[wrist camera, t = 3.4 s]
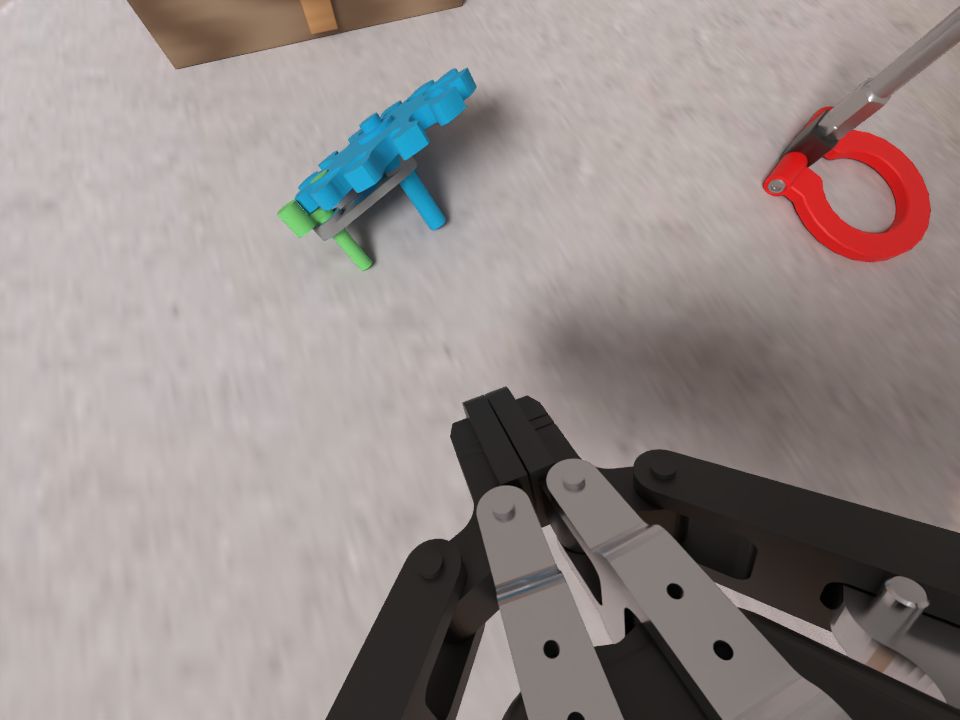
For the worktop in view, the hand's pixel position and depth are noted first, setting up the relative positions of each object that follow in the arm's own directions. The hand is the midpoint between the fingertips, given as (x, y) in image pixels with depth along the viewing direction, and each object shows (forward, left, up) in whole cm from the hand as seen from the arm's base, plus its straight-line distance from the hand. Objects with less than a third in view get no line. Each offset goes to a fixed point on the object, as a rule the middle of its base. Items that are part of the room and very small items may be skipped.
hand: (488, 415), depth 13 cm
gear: (+3, -14, -8) cm, 16 cm away
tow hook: (-25, -10, -8) cm, 28 cm away
